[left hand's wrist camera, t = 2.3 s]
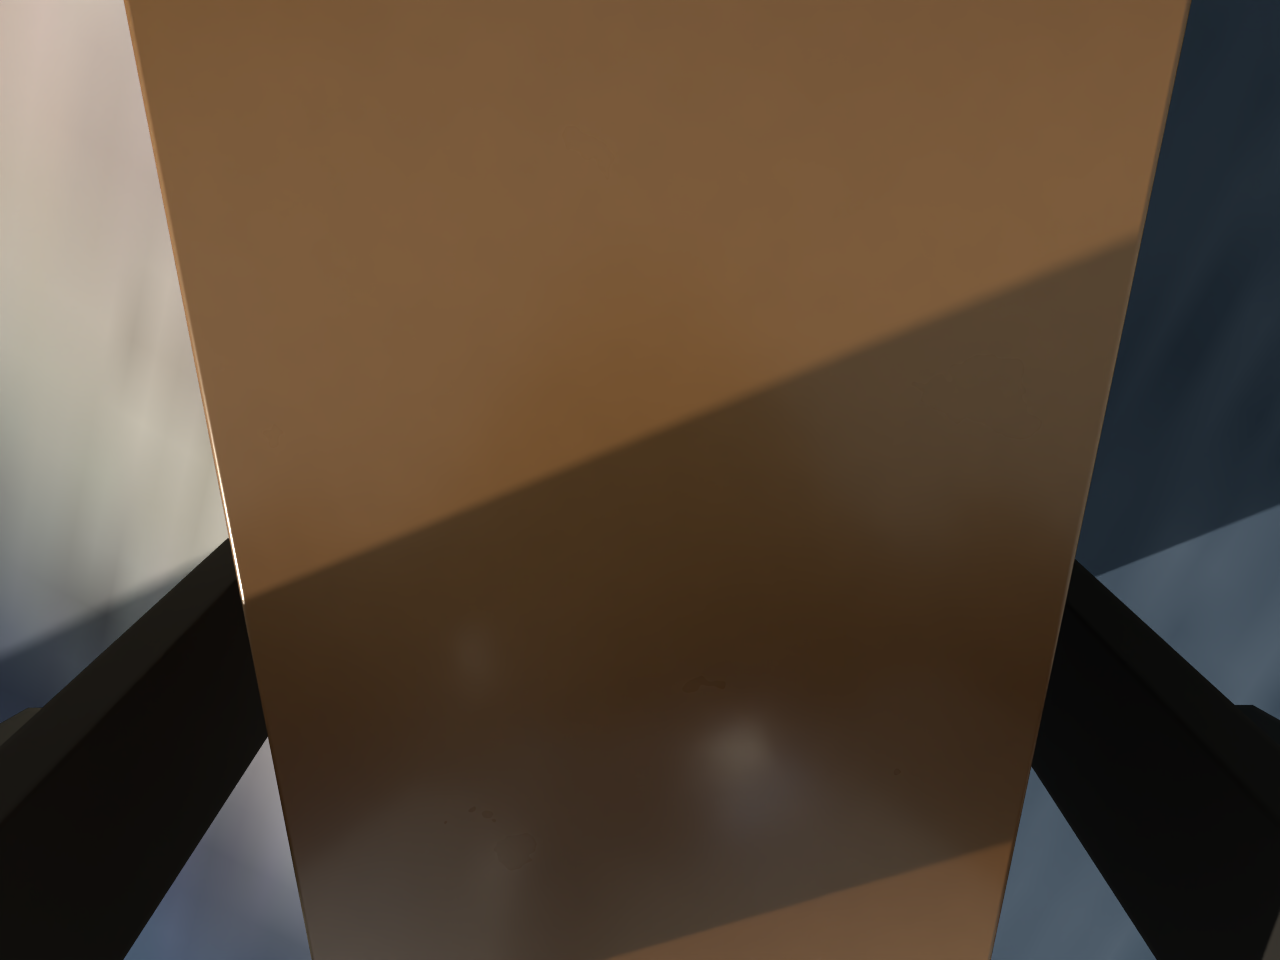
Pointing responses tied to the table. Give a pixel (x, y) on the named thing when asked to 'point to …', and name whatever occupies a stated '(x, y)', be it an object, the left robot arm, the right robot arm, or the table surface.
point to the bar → (654, 444)
